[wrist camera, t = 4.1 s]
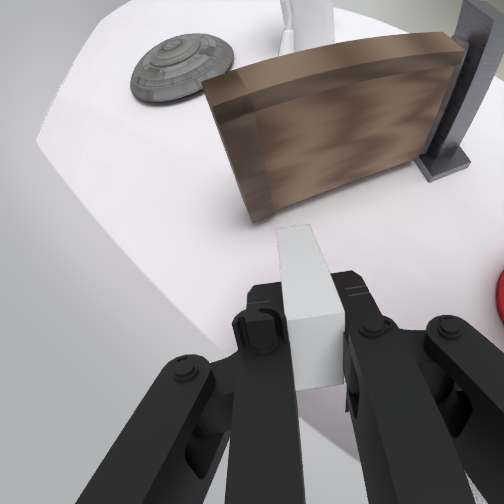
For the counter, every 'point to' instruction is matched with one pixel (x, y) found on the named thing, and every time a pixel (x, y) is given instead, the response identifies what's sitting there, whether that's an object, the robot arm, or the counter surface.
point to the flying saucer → (180, 67)
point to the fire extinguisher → (306, 25)
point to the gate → (332, 114)
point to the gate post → (466, 88)
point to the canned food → (501, 296)
